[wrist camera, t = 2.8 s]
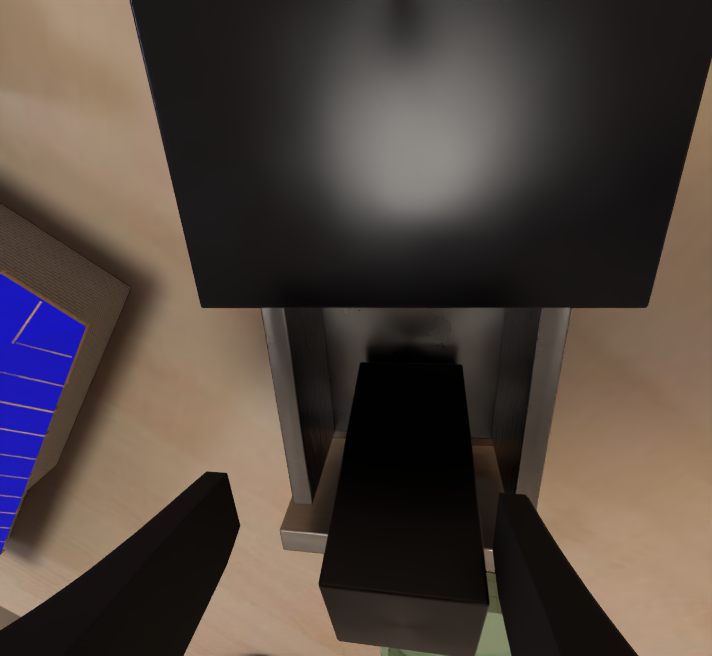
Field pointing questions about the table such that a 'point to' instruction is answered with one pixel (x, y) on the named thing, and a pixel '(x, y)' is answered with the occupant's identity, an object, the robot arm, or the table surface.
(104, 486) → the table surface
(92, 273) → the blue roofed model house
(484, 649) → the dish
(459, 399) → the iron block
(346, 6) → the dark brown drawer box
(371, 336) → the drawer
